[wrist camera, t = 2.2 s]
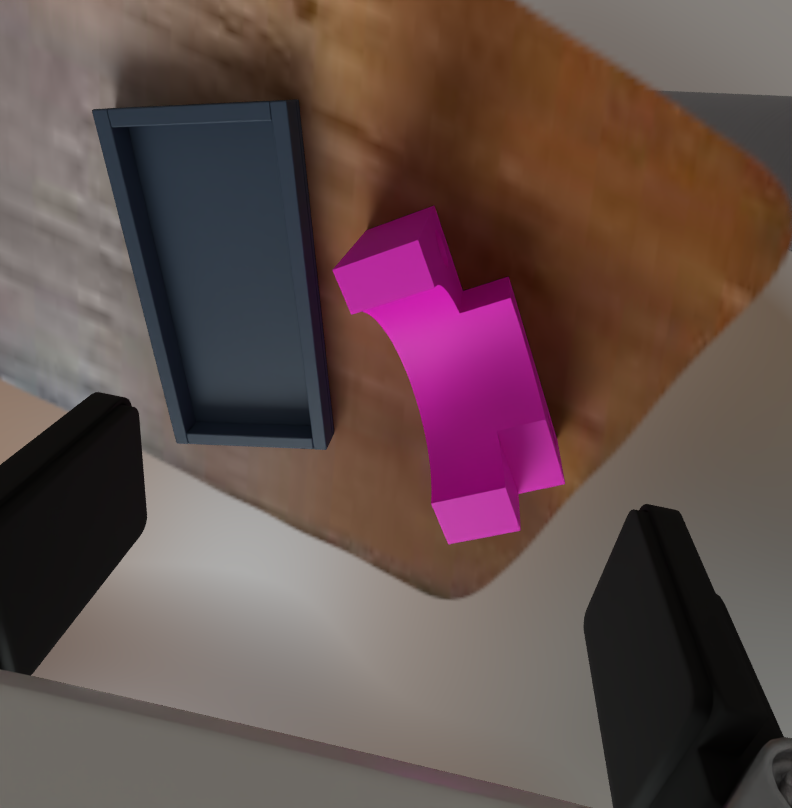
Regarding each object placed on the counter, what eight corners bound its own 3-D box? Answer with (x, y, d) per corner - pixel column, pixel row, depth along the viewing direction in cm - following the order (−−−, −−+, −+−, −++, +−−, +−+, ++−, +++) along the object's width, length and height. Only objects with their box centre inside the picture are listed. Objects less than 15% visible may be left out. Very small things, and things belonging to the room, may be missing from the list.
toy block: (557, 439, 35) (571, 520, 29) (456, 462, 37) (448, 544, 30) (482, 187, 29) (479, 218, 23) (366, 230, 31) (332, 270, 24)
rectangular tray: (299, 99, 28) (286, 100, 27) (334, 433, 37) (326, 450, 35) (114, 107, 30) (90, 109, 28) (190, 427, 39) (176, 443, 37)
